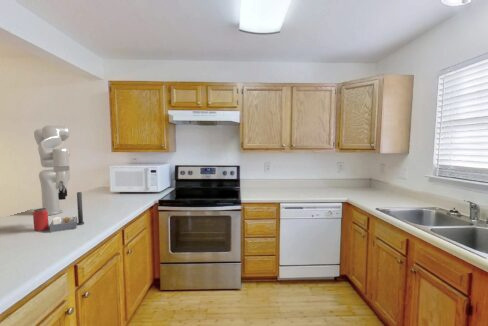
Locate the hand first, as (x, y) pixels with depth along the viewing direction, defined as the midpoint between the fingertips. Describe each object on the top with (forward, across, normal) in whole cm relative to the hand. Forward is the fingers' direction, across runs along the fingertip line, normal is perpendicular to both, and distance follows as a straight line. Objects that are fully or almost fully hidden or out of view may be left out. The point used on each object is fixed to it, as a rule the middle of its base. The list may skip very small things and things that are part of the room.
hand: (63, 197), depth 144 cm
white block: (+14, +3, -3) cm, 15 cm away
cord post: (+18, -2, +8) cm, 20 cm away
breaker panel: (+18, 0, 0) cm, 18 cm away
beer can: (+18, -2, -11) cm, 21 cm away
